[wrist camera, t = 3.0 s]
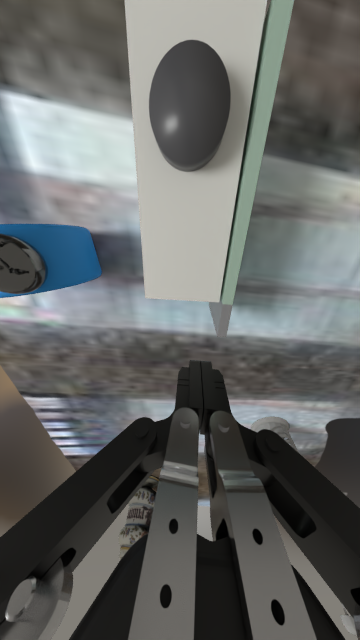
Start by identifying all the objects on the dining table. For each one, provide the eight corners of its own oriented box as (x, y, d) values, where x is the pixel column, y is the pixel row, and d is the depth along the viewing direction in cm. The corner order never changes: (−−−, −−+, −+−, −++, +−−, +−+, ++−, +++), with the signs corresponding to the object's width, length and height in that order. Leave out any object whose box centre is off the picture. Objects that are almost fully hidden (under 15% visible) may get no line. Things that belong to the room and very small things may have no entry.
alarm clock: (107, 229, 23) (-6, 214, 10) (118, 271, 26) (41, 305, 13) (28, 237, 25) (-167, 233, 11) (46, 277, 27) (-92, 312, 14)
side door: (233, 115, 17) (278, -23, 8) (242, 115, 17) (298, -24, 8) (208, 304, 27) (217, 336, 18) (214, 305, 27) (226, 337, 18)
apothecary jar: (141, 470, 60) (122, 554, 44) (168, 479, 62) (160, 563, 46) (128, 479, 65) (107, 558, 49) (154, 488, 67) (142, 566, 51)
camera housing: (158, 118, 18) (112, -48, 8) (229, 118, 17) (282, -55, 7) (161, 278, 26) (141, 303, 16) (209, 280, 26) (221, 307, 15)
